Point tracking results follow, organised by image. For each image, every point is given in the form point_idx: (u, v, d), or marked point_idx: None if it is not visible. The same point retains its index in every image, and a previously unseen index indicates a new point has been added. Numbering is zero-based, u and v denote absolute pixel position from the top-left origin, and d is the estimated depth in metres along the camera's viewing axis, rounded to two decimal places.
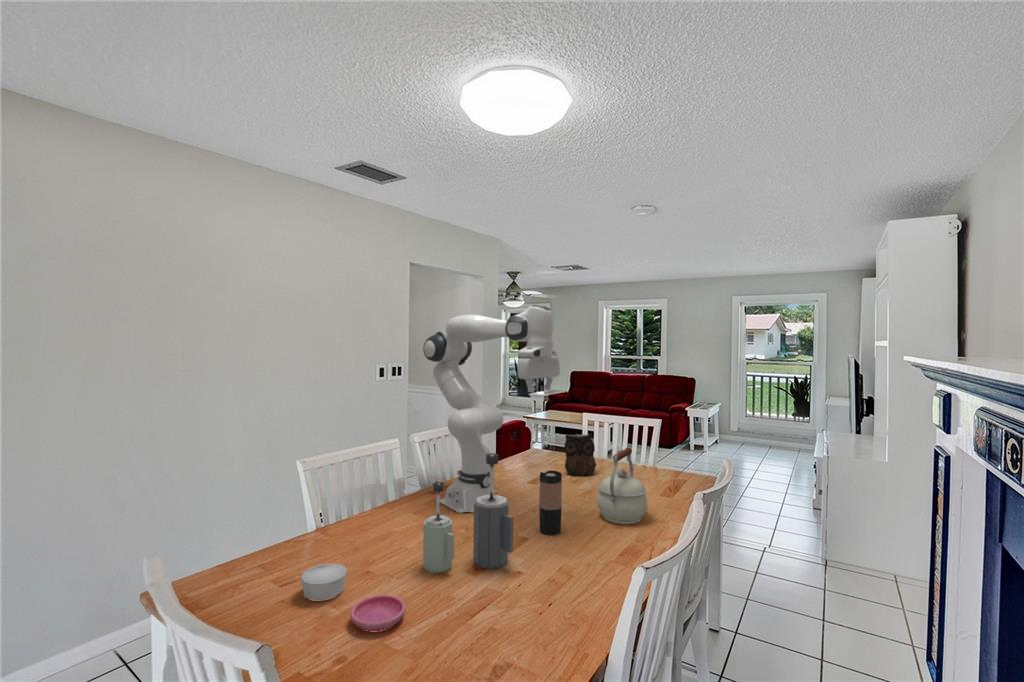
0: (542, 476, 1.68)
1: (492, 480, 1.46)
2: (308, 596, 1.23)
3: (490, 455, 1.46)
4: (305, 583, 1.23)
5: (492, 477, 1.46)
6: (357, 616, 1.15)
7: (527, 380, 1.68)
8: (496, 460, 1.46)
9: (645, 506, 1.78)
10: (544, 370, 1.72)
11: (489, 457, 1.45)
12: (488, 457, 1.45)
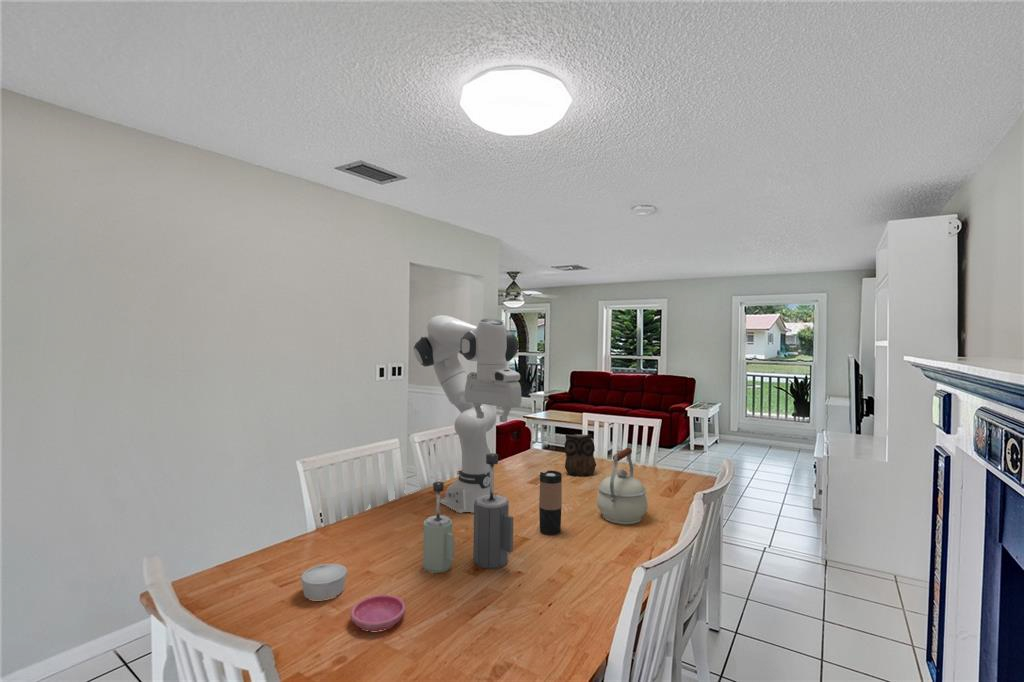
0: (542, 476, 1.68)
1: (492, 480, 1.46)
2: (308, 596, 1.23)
3: (490, 455, 1.46)
4: (305, 583, 1.23)
5: (492, 477, 1.46)
6: (357, 616, 1.15)
7: (507, 408, 1.42)
8: (496, 460, 1.46)
9: (645, 506, 1.78)
10: None
11: (489, 457, 1.45)
12: (488, 457, 1.45)
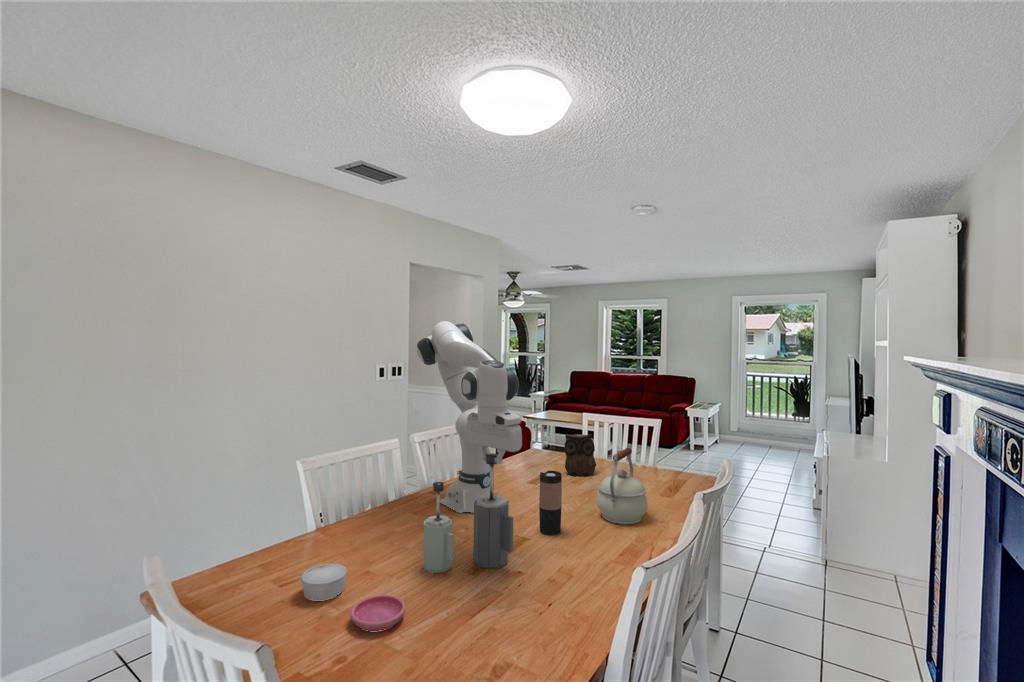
0: (542, 476, 1.68)
1: (492, 480, 1.46)
2: (308, 596, 1.23)
3: (490, 455, 1.46)
4: (305, 583, 1.23)
5: (492, 477, 1.46)
6: (357, 616, 1.15)
7: (502, 450, 1.44)
8: None
9: (645, 506, 1.78)
10: None
11: (489, 457, 1.45)
12: (488, 457, 1.45)
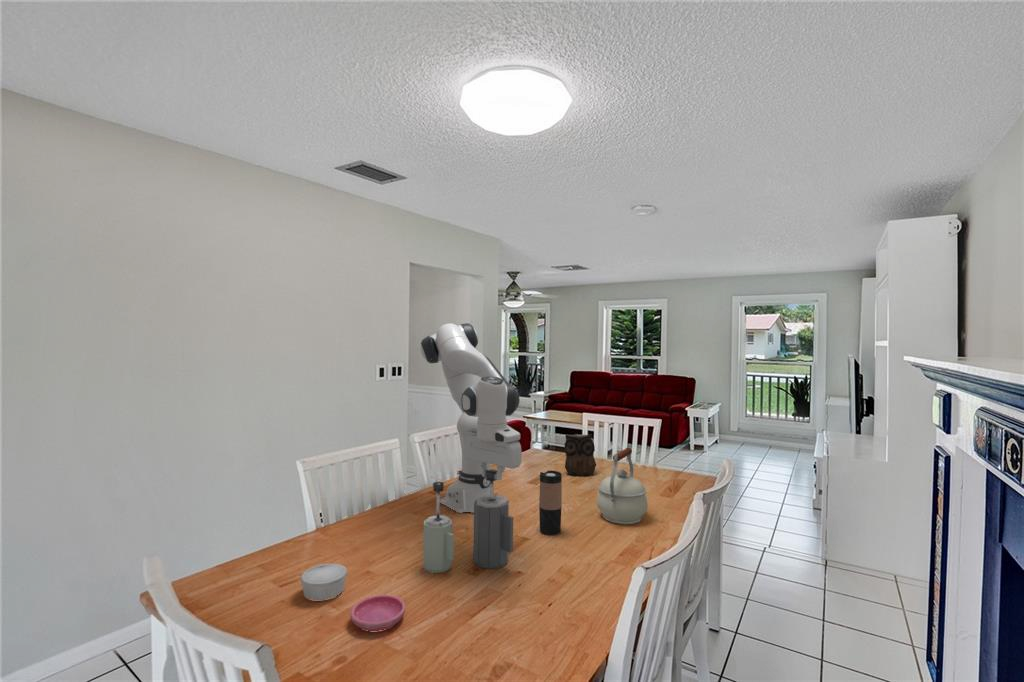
0: (542, 476, 1.68)
1: (492, 496, 1.46)
2: (308, 596, 1.23)
3: (490, 471, 1.46)
4: (305, 583, 1.23)
5: (492, 493, 1.46)
6: (357, 616, 1.15)
7: (502, 467, 1.44)
8: None
9: (645, 506, 1.78)
10: None
11: (489, 473, 1.45)
12: (488, 473, 1.45)
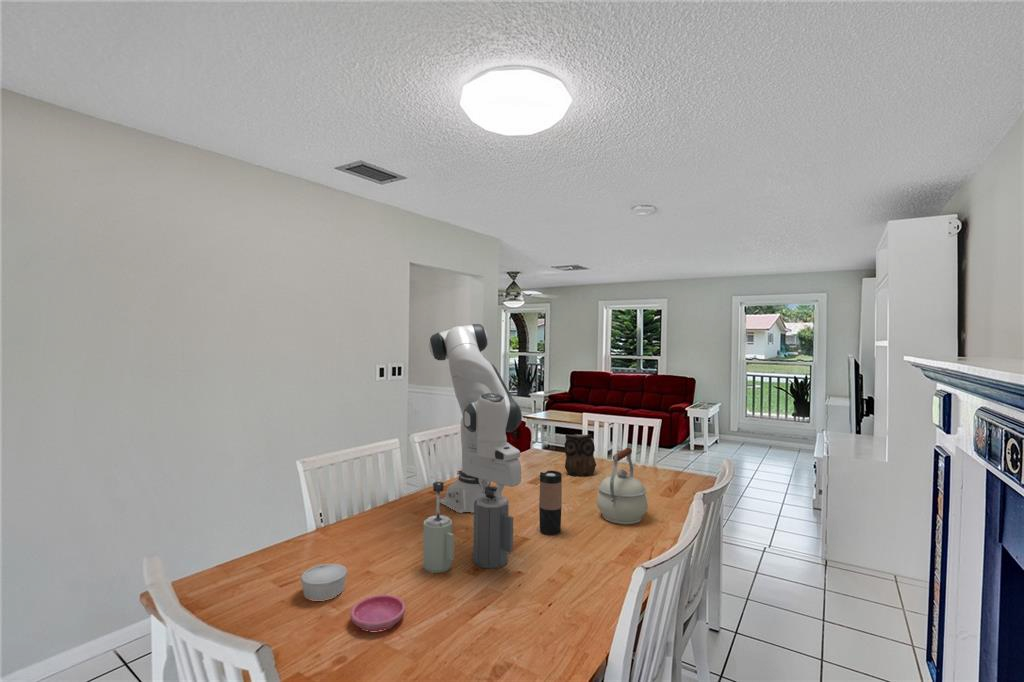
0: (542, 476, 1.68)
1: None
2: (308, 596, 1.23)
3: (490, 488, 1.46)
4: (305, 583, 1.23)
5: None
6: (357, 616, 1.15)
7: (501, 484, 1.44)
8: None
9: (645, 506, 1.78)
10: None
11: (489, 491, 1.45)
12: (488, 490, 1.45)
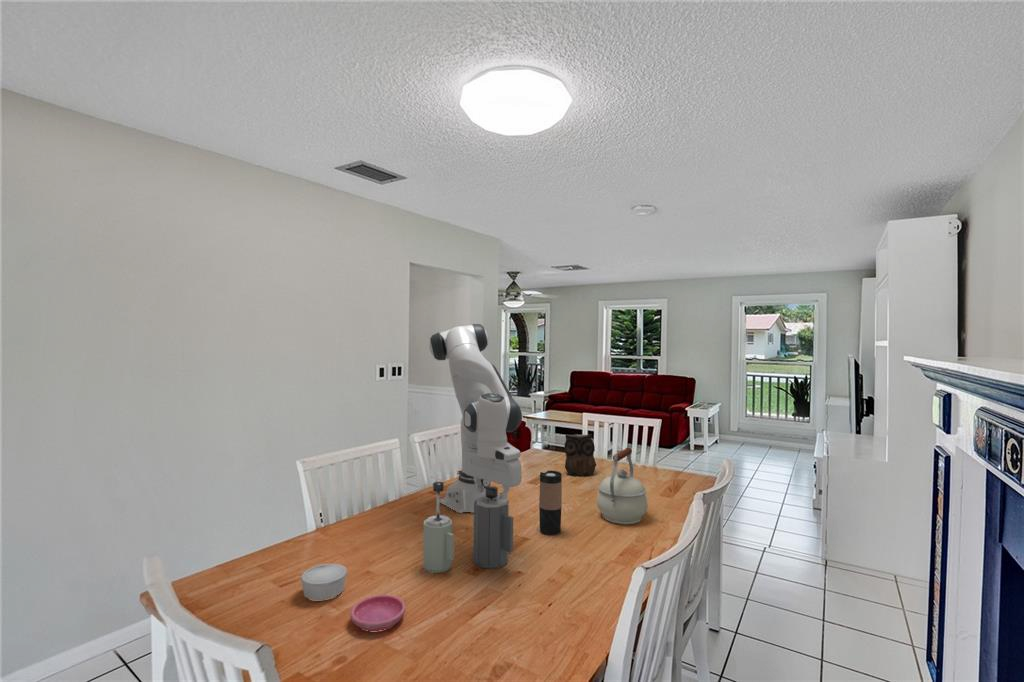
0: (542, 476, 1.68)
1: None
2: (308, 596, 1.23)
3: (490, 488, 1.46)
4: (305, 583, 1.23)
5: None
6: (357, 616, 1.15)
7: (507, 486, 1.42)
8: (496, 494, 1.46)
9: (645, 506, 1.78)
10: None
11: (489, 491, 1.45)
12: (488, 491, 1.45)
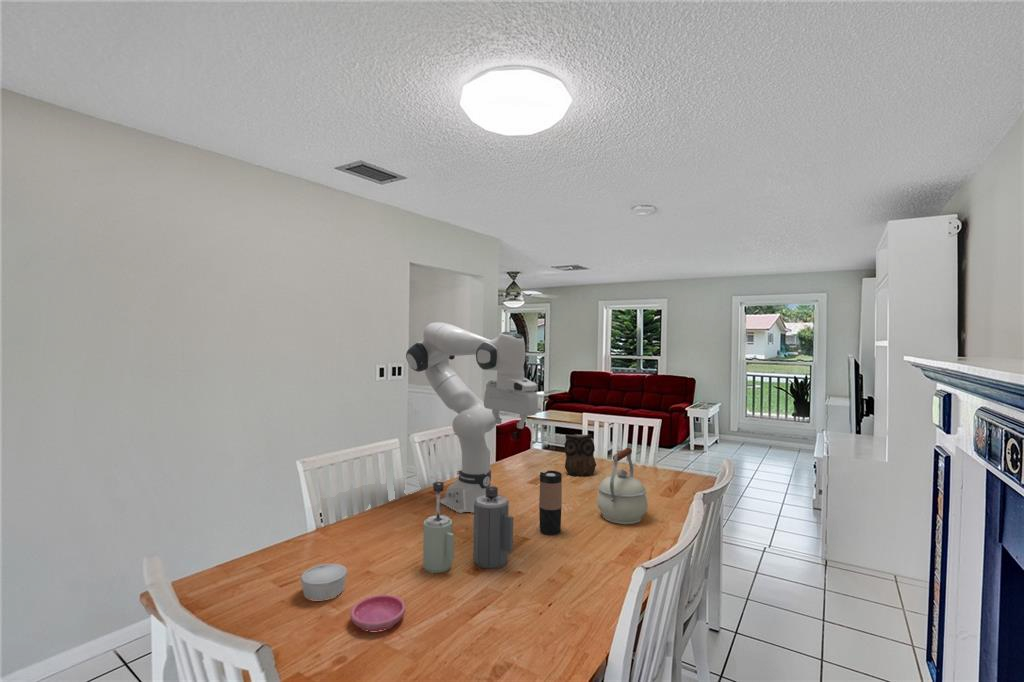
0: (542, 476, 1.68)
1: None
2: (308, 596, 1.23)
3: (490, 488, 1.46)
4: (305, 583, 1.23)
5: None
6: (357, 616, 1.15)
7: (524, 416, 1.54)
8: (496, 494, 1.46)
9: (645, 506, 1.78)
10: None
11: (489, 491, 1.45)
12: (488, 491, 1.45)
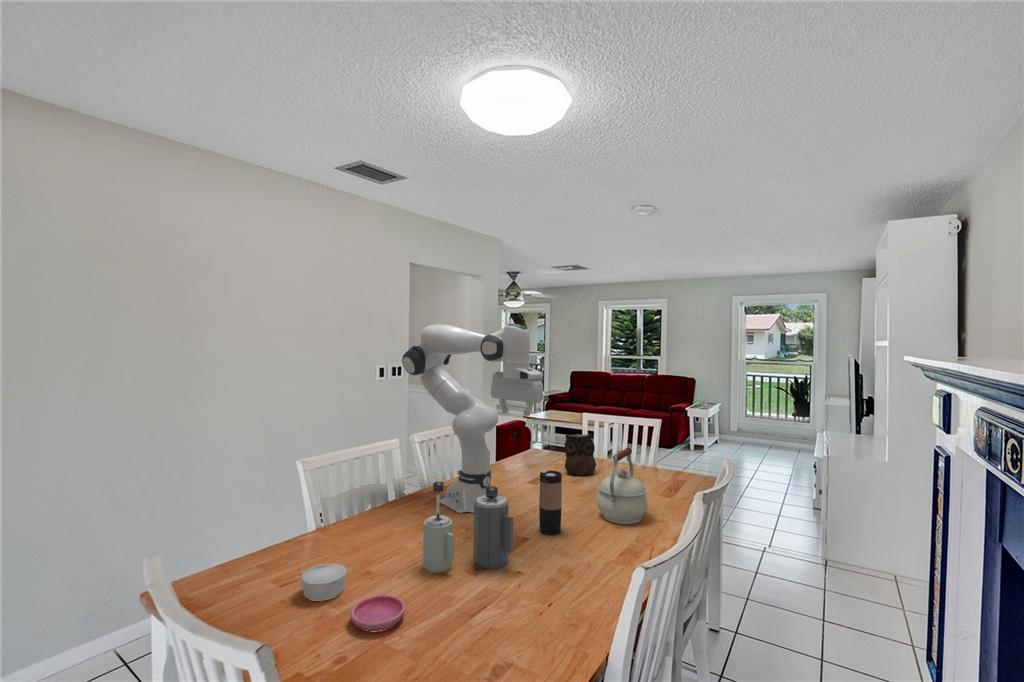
0: (542, 476, 1.68)
1: None
2: (308, 596, 1.23)
3: (490, 488, 1.46)
4: (305, 583, 1.23)
5: None
6: (357, 616, 1.15)
7: (531, 404, 1.60)
8: (496, 494, 1.46)
9: (645, 506, 1.78)
10: None
11: (489, 491, 1.45)
12: (488, 491, 1.45)
